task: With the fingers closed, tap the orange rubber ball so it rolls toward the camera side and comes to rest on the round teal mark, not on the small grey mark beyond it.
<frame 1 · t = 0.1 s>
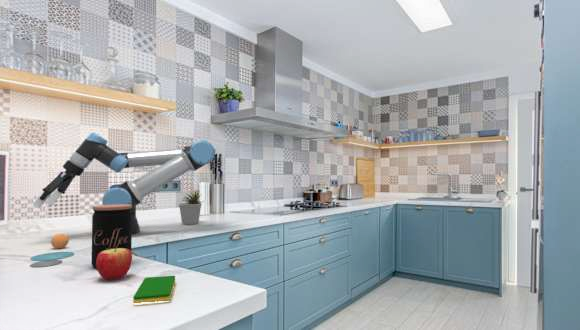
hand: (42, 205, 138), 15 cm above the countertop, tool tilted 35°, fingers open, 13 cm apart
coffee jar: (111, 265, 100), on the countertop
potted plant: (191, 224, 190), on the countertop
ball: (59, 241, 124), on the countertop
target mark: (53, 256, 112), on the countertop
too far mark: (46, 263, 102), on the countertop
apple: (114, 279, 87), on the countertop
dish sponge: (156, 296, 75), on the countertop
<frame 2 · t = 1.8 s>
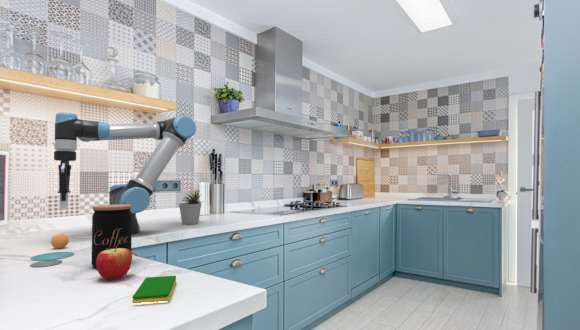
hand: (63, 209, 133), 14 cm above the countertop, tool pointing down, fingers closed
nothing on the countertop moved.
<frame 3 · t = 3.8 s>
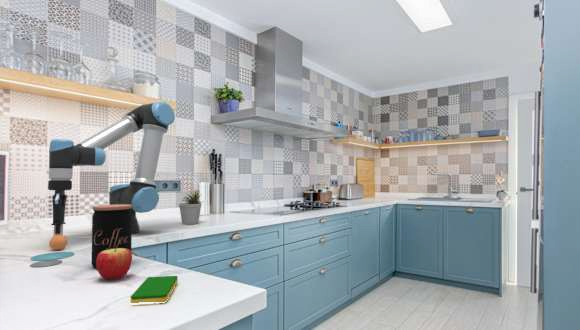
hand: (57, 242, 125), 2 cm above the countertop, tool pointing down, fingers closed
ball: (58, 242, 122), on the countertop
everything else where it was.
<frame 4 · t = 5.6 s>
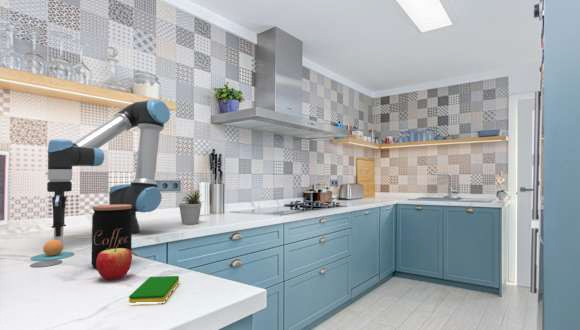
hand: (58, 244, 122), 2 cm above the countertop, tool pointing down, fingers closed
ball: (53, 247, 112), on the countertop
everything else where it was.
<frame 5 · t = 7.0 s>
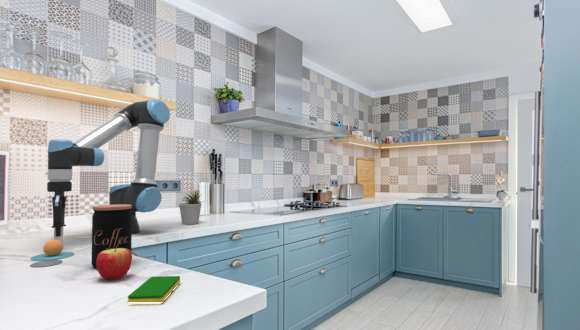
hand: (58, 244, 122), 2 cm above the countertop, tool pointing down, fingers closed
nothing on the countertop moved.
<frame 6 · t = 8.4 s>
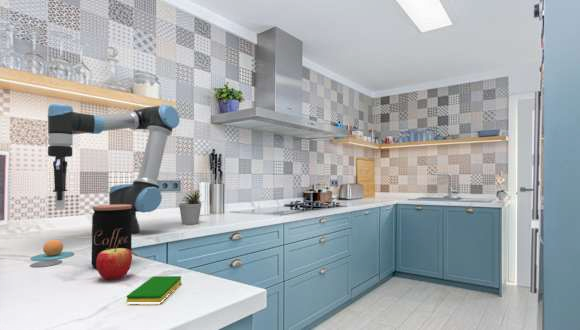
hand: (60, 209, 122), 15 cm above the countertop, tool pointing down, fingers closed
nothing on the countertop moved.
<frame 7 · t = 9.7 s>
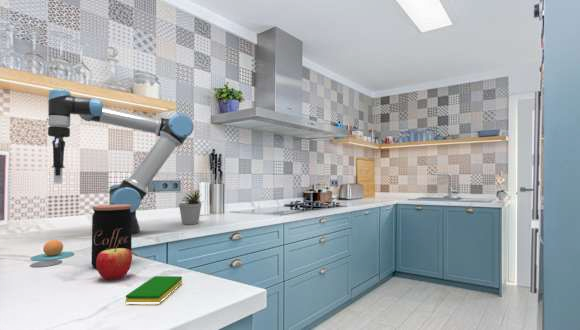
hand: (58, 183, 137), 24 cm above the countertop, tool pointing down, fingers closed
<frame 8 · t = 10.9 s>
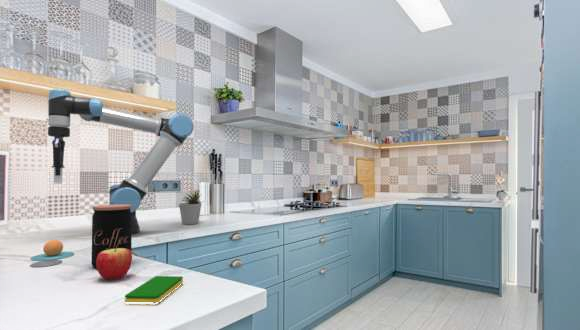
hand: (57, 183, 137), 24 cm above the countertop, tool pointing down, fingers closed
at the end: ball 0.5 cm from the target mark (horizontally); ball at rest at the end (0.0 cm/s); ball moved 13.7 cm from its start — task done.
